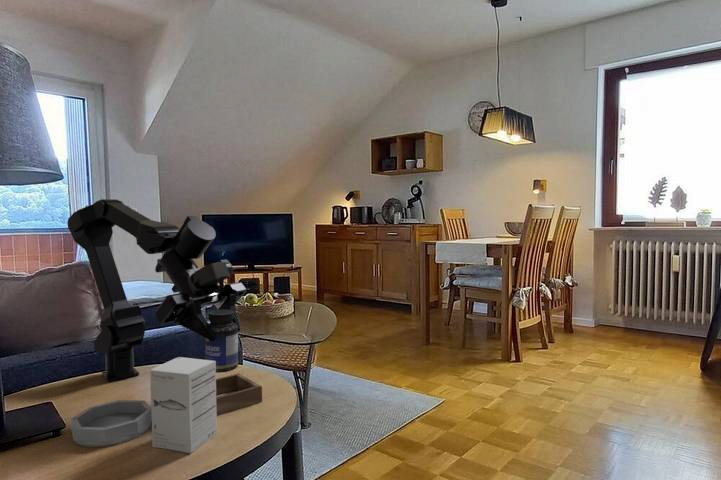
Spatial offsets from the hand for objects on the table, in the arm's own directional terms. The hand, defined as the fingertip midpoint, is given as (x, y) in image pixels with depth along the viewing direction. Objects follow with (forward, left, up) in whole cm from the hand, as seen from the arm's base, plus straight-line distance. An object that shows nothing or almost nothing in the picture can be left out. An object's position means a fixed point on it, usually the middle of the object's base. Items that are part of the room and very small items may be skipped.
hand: (226, 335), depth 91 cm
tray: (-2, -20, -13) cm, 24 cm away
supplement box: (+10, -12, -13) cm, 20 cm away
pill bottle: (-1, 0, -7) cm, 7 cm away
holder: (-1, 0, -13) cm, 13 cm away
